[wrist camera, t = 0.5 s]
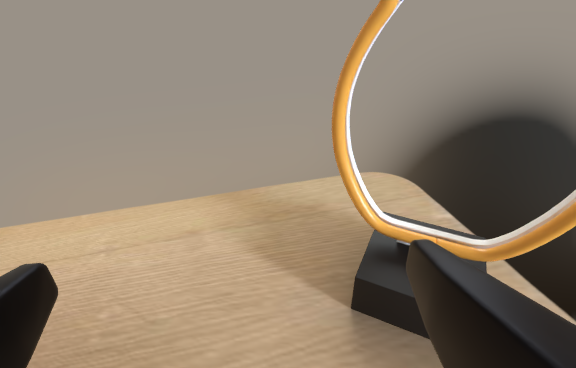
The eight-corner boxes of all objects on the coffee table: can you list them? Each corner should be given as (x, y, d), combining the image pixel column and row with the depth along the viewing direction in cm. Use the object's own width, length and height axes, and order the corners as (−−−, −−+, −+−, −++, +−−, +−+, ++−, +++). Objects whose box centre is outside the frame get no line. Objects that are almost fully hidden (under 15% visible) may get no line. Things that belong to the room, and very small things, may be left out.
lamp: (305, 291, 27) (314, -362, 10) (339, 229, 34) (378, -228, 17) (539, 381, 21) (1682, -1022, 4) (524, 283, 27) (898, -373, 10)
